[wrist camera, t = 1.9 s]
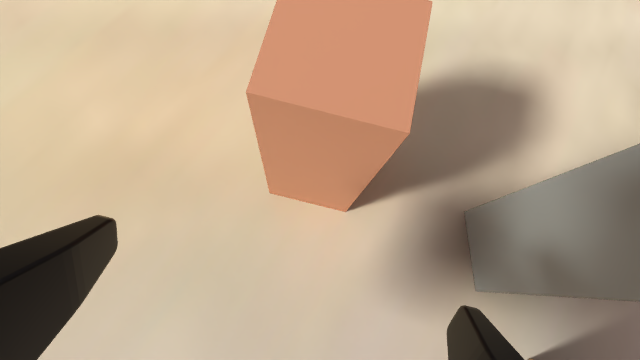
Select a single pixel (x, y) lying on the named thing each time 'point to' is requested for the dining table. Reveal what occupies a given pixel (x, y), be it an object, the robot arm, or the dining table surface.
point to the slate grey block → (563, 234)
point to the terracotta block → (335, 93)
